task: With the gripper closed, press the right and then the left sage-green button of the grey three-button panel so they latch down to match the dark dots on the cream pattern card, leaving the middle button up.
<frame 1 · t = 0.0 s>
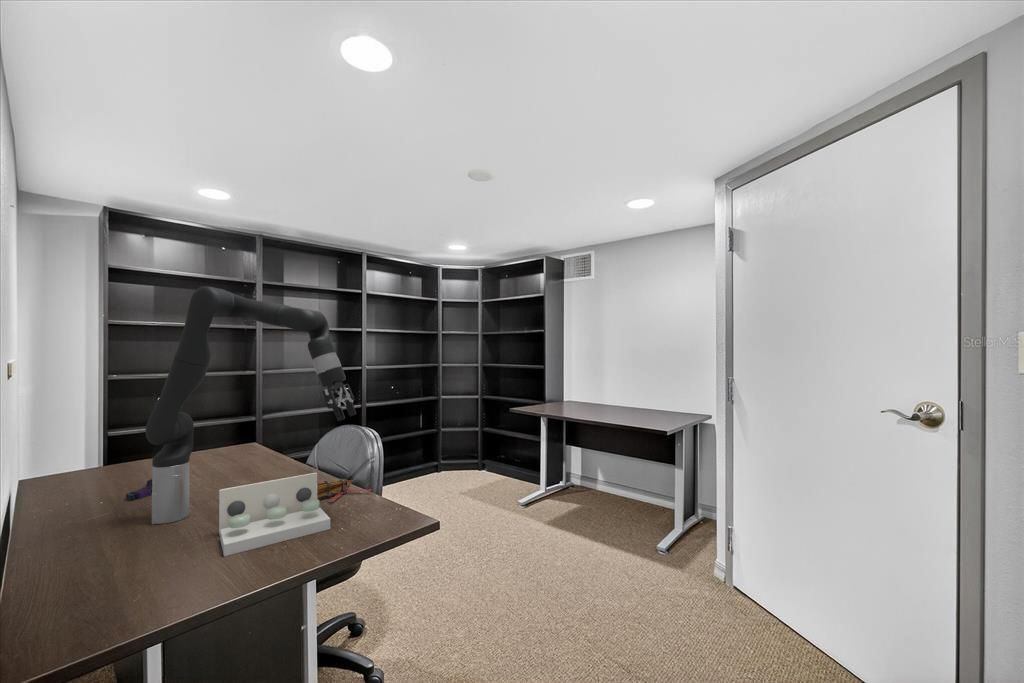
hand: (347, 417, 133), 31 cm above the table, tool tilted 20°, fingers open, 8 cm apart
button left: (239, 520, 116), point 6 cm above the table, slide at 2.0 cm
pattern card: (271, 523, 129), on the table
handgun: (147, 492, 162), on the table
button middle: (276, 512, 122), point 6 cm above the table, slide at 2.0 cm
button right: (310, 505, 127), point 6 cm above the table, slide at 2.0 cm
button panel: (276, 534, 122), on the table
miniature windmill: (322, 499, 151), on the table
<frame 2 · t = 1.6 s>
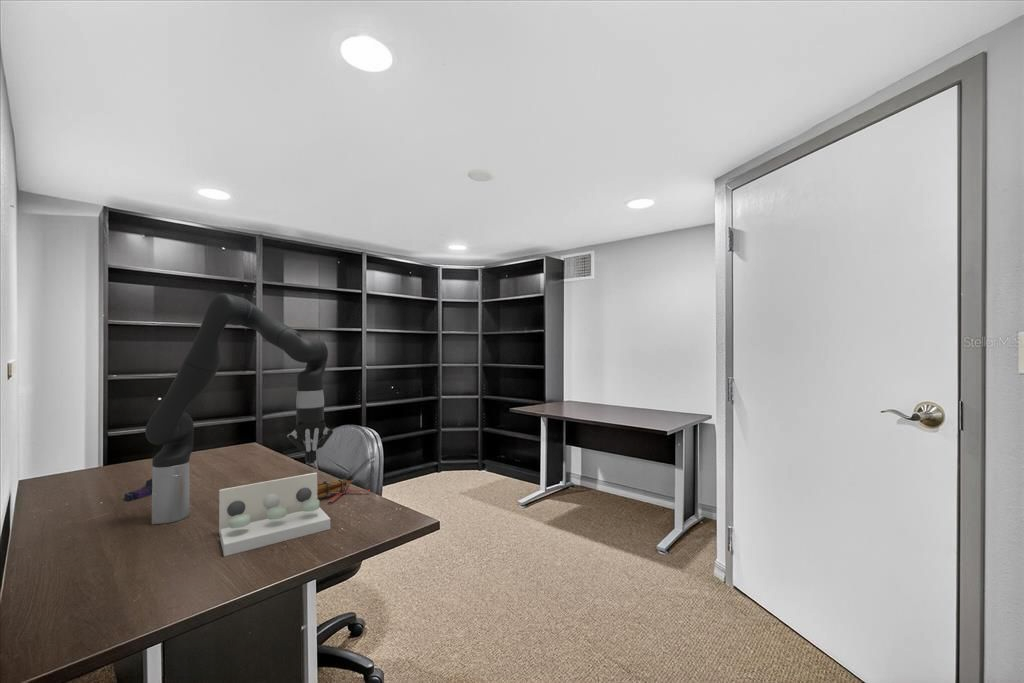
hand: (310, 463, 127), 19 cm above the table, tool pointing down, fingers closed
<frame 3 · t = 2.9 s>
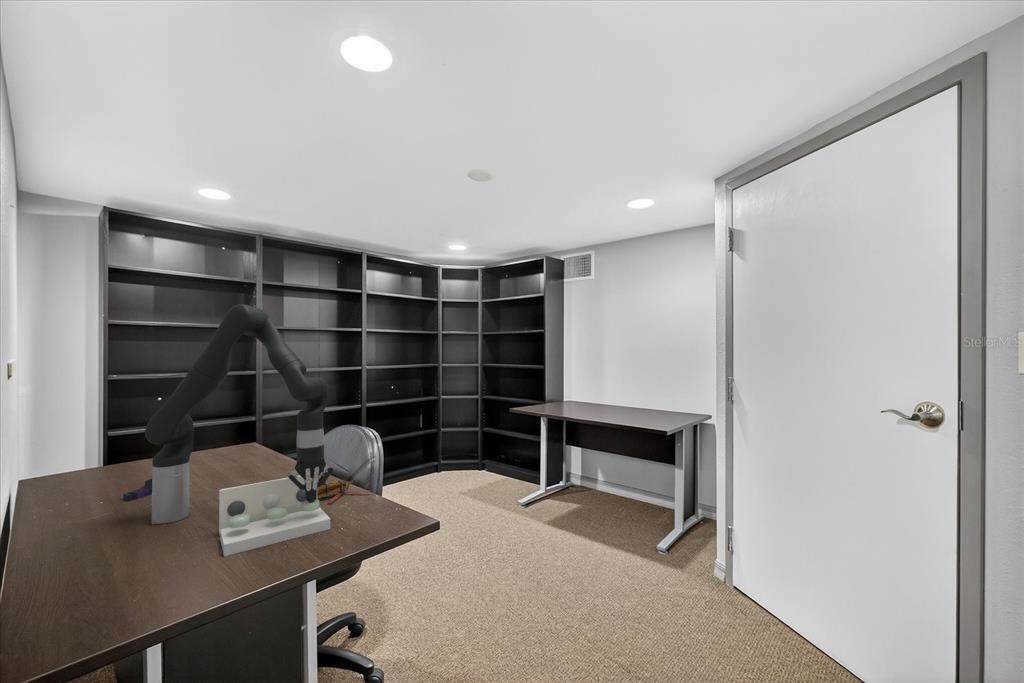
hand: (310, 501, 127), 7 cm above the table, tool pointing down, fingers closed
button right: (310, 505, 127), point 6 cm above the table, slide at 2.0 cm, touching gripper
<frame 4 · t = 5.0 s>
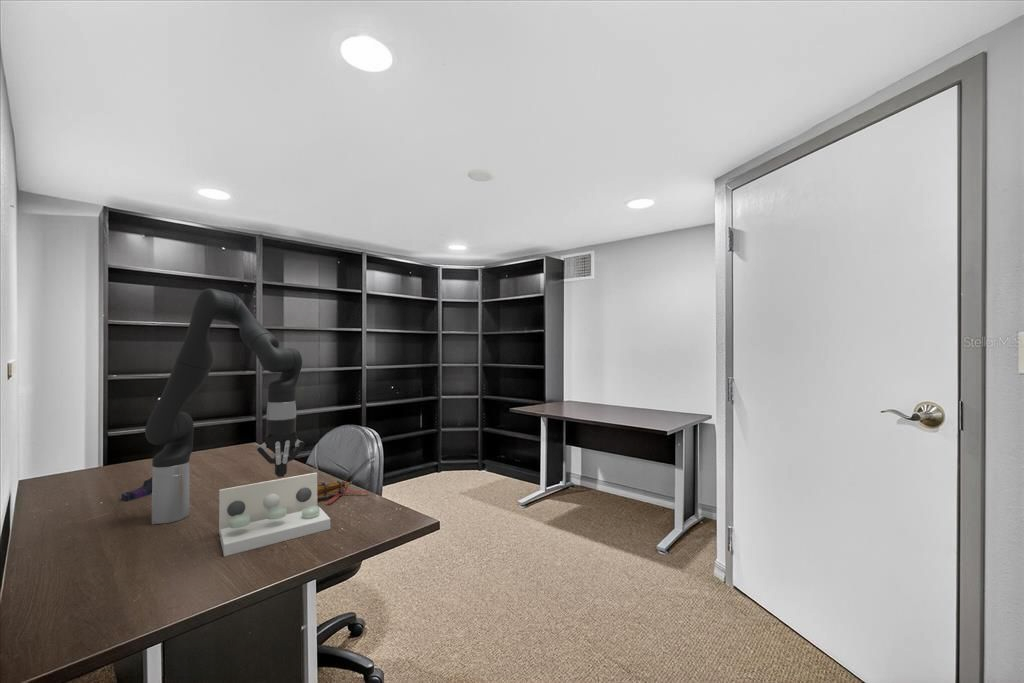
hand: (280, 476, 123), 16 cm above the table, tool pointing down, fingers closed
button right: (310, 512, 127), point 4 cm above the table, slide at 0.0 cm
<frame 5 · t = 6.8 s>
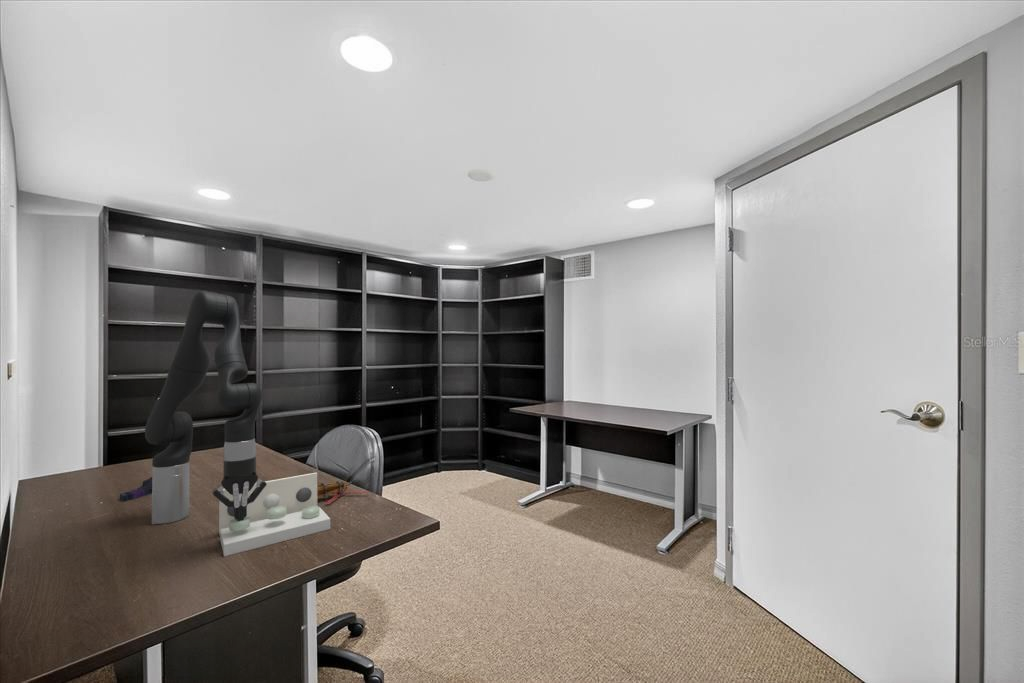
hand: (240, 519, 116), 6 cm above the table, tool pointing down, fingers closed
button left: (239, 523, 116), point 5 cm above the table, slide at 1.2 cm, touching gripper
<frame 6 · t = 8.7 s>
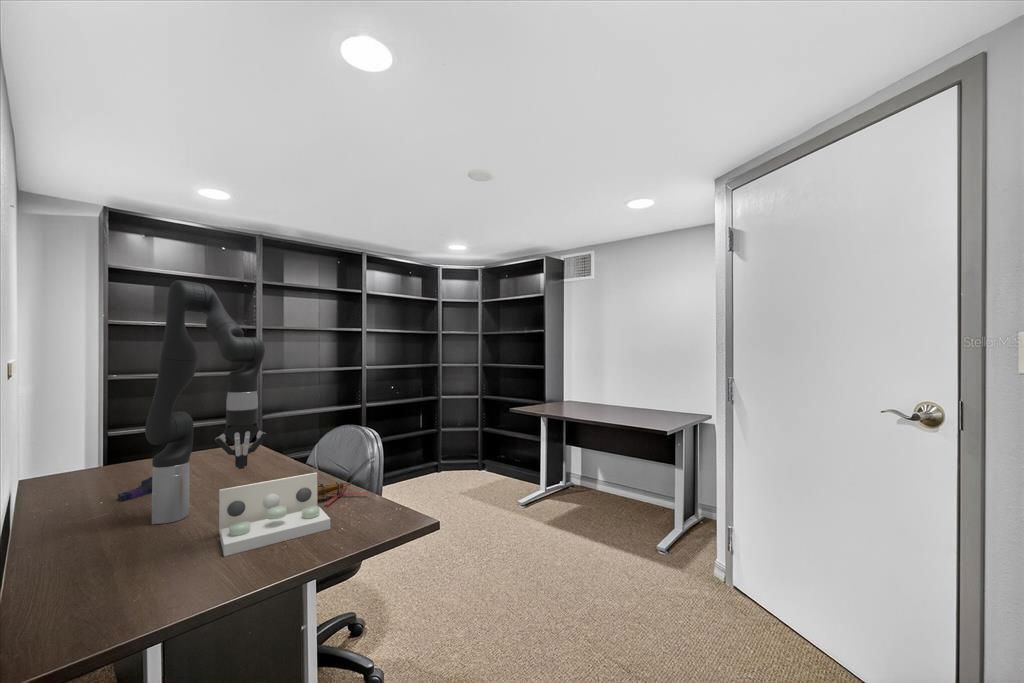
hand: (241, 468, 120), 19 cm above the table, tool pointing down, fingers closed
button left: (239, 528, 116), point 4 cm above the table, slide at -0.1 cm
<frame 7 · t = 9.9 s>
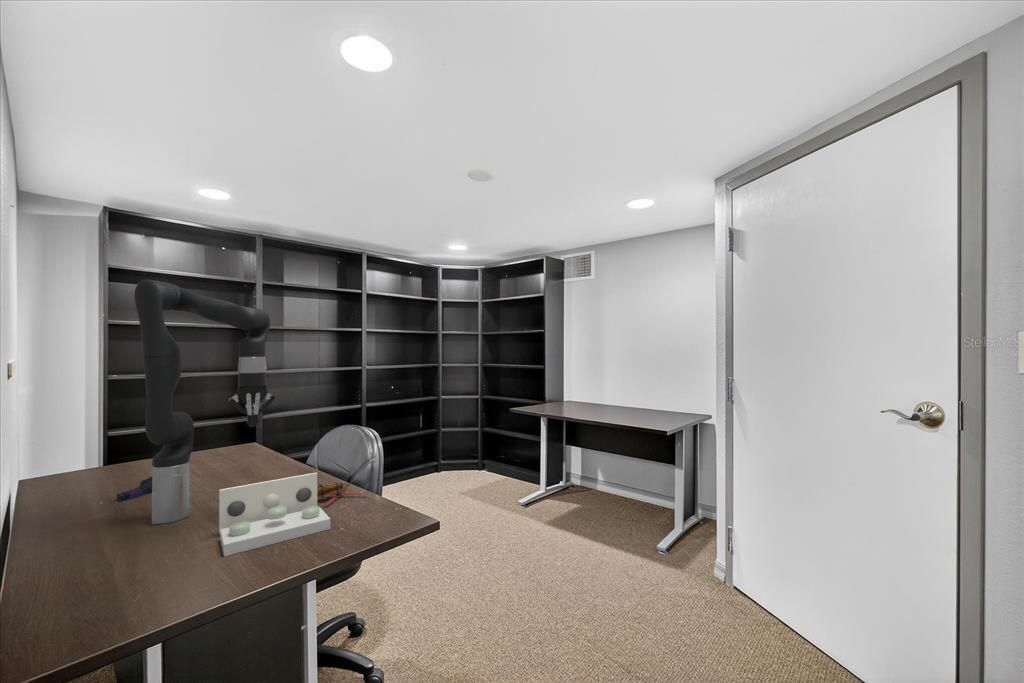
hand: (252, 426, 133), 29 cm above the table, tool pointing down, fingers closed
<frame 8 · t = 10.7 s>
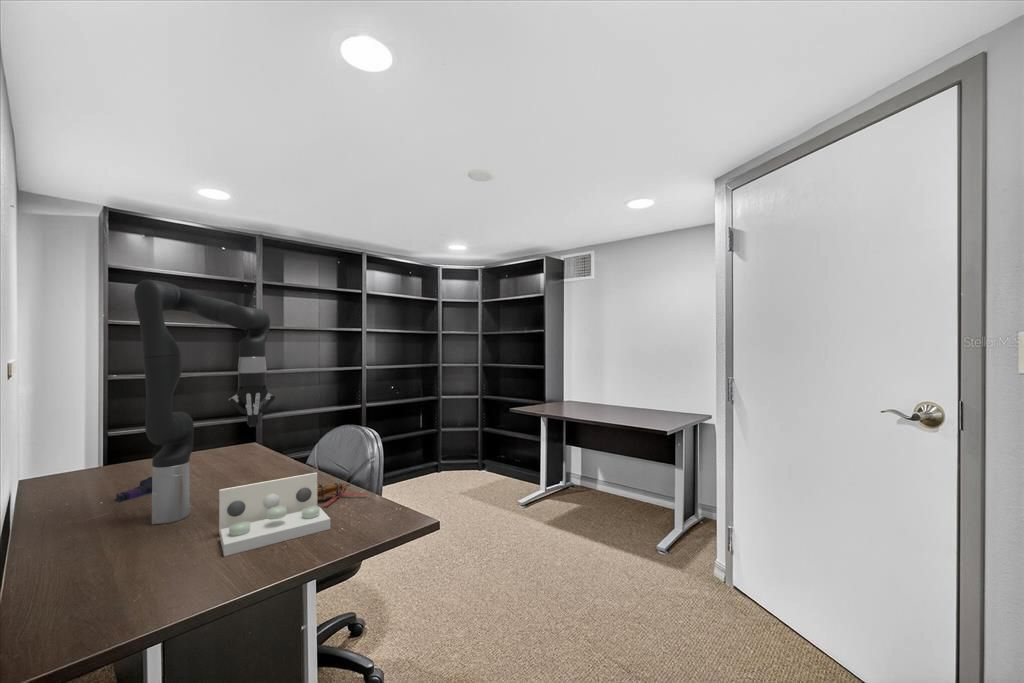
hand: (252, 426, 133), 29 cm above the table, tool pointing down, fingers closed
at the end: button right slide at 0.0 cm; button left slide at -0.1 cm; button middle slide at 2.0 cm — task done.
